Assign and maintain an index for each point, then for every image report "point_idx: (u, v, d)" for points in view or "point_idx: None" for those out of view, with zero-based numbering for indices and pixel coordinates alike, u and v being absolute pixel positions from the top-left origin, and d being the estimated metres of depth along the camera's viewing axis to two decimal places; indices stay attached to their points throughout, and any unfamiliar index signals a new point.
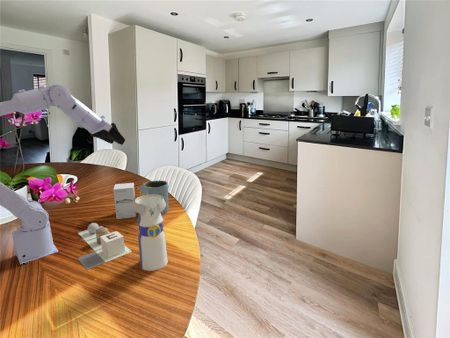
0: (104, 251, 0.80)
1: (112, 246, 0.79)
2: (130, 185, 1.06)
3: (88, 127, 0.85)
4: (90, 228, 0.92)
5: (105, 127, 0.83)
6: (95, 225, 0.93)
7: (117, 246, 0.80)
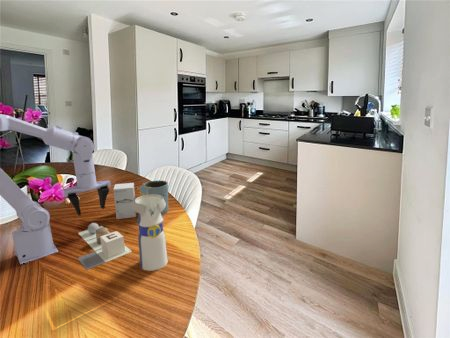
0: (104, 251, 0.80)
1: (112, 246, 0.79)
2: (130, 185, 1.06)
3: (93, 180, 0.89)
4: (90, 228, 0.92)
5: None
6: (95, 225, 0.93)
7: (117, 246, 0.80)
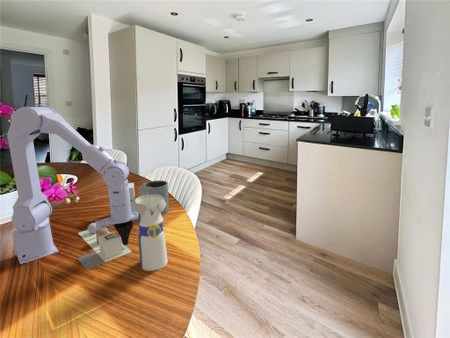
0: (102, 252, 0.80)
1: (109, 247, 0.78)
2: (130, 185, 1.06)
3: (128, 212, 0.81)
4: (90, 228, 0.92)
5: None
6: (95, 225, 0.93)
7: (114, 247, 0.80)
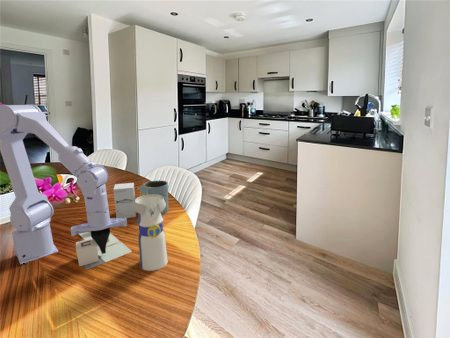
0: None
1: (83, 254, 0.75)
2: (130, 185, 1.06)
3: (104, 220, 0.76)
4: None
5: (126, 221, 0.80)
6: None
7: (89, 255, 0.76)
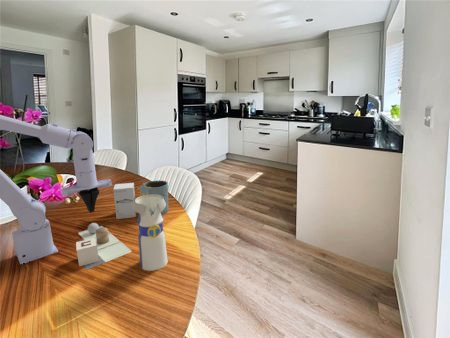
0: None
1: (83, 254, 0.75)
2: (130, 185, 1.06)
3: (94, 179, 0.85)
4: (90, 228, 0.92)
5: None
6: (95, 225, 0.93)
7: (89, 255, 0.76)
